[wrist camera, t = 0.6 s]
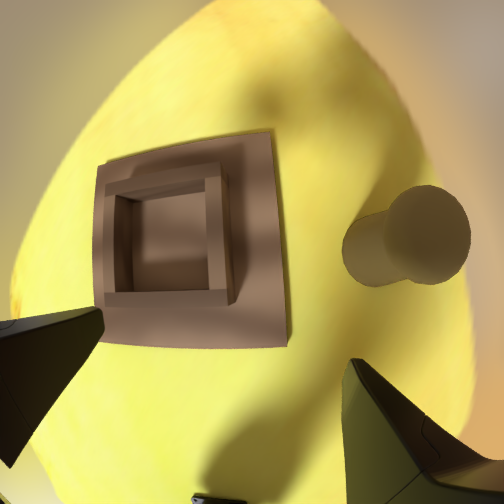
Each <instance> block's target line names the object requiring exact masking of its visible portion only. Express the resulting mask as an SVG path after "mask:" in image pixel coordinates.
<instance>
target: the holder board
mask: <svg viewBox="0 0 504 504" xmlns="http://www.w3.org/2000/svg"><path fill="white" fill-rule="evenodd" d="M92 266H93V290H94V305H95V307H97V308H100V309H101V310H102V312H103V317H104V324H105V332H104V334H103V336H102V337H101V339H100V340H99V342H105V343H114V344H124V345H135V346H148V347H164V348H189V349H248V348H273V347H287V330H286V312H285V296H284V281H283V267H282V253H281V241H280V229H279V217H278V206H277V195H276V185H275V174H274V165H273V155H272V146H271V137H270V132H264V133H254V134H246V135H238V136H231V137H224V138H217V139H211V140H205V141H199V142H194V143H188V144H183V145H178V146H174V147H169V148H164V149H160V150H155V151H151V152H147V153H143V154H139V155H135V156H131V157H128V158H124V159H120V160H117V161H113V162H110V163H107V164H103V165H100V166H98V169H97V178H96V187H95V198H94V212H93V237H92Z"/></svg>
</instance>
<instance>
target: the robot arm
mask: <svg viewBox="0 0 504 504" xmlns="http://www.w3.org/2000/svg"><path fill="white" fill-rule="evenodd" d="M104 332H105V324H104V317H103V312H102V310H101V309H100V308H97V307H94V306H91V307H85V308H80V309H74V310H68V311H63V312H57V313H51V314H45V315H39V316H33V317H27V318H20V319H18V320H17V319H14V320H7V321H0V459H1V460H2V461H3V462H4V463H5V465H6V466H8V468H9V469H10V468H11V467H12V466H13V465H14V463H15V461H16V460H17V458H18V456H19V455H20V453H21V452H22V450H23V448H24V447H25V445H26V444H27V442H28V441H29V439H30V438H31V436H32V435H33V432H34V431H35V430H36V428H37V427H38V426H39V424H40V423H41V421H42V420H43V418H44V417H45V415H46V414H47V413H48V411H49V410H50V408H51V407H52V406H53V404H54V403H55V401H56V400H57V399H58V397H59V396H60V395H61V393H62V392H63V391H64V389H65V388H66V387H67V385H68V384H69V383H70V381H71V380H72V379H73V377H74V376H75V375H76V373H77V372H78V371H79V369H80V368H81V367H82V366H83V364H84V363H85V362H86V360H87V359H88V357H89V356H90V354H91V353H92V351H93V349H94V348H95V346H96V345H97V343H98V342H99V340H100V339H101V337H102V336H103V334H104ZM341 421H342V433H343V444H344V457H345V472H346V493H347V504H504V460H492V459H488V458H485V457H483V456H481V455H480V454H478V453H477V452H475V451H474V450H472V449H471V448H469V447H468V446H466V445H465V444H463V443H462V442H460V441H459V440H458V439H456V438H455V437H453V436H452V435H451V434H449V433H448V432H447V431H445V430H444V429H443V428H441V427H440V426H439V425H438V424H437V423H435V422H434V421H433V420H432V419H431V418H430V417H428V416H427V415H426V416H425V413H424V412H423V411H421V410H420V409H419V408H418V407H417V406H416V405H415V404H413V403H412V402H411V401H410V400H409V399H408V398H406V397H405V396H404V395H403V394H402V393H401V392H400V391H398V390H397V389H396V388H395V387H394V386H393V385H392V384H390V383H389V382H388V381H387V380H386V379H385V378H384V377H383V376H381V375H380V374H379V373H378V372H377V371H376V370H375V369H373V368H372V367H371V366H370V365H369V364H368V363H367V362H365V361H364V360H363V359H359V358H351V359H350V360H349V362H348V365H347V368H346V370H345V373H344V376H343V379H342V420H341ZM191 500H192V503H193V504H247V502H244V501H232V500H222V499H213V498H206V497H199V496H193V497H192V498H191ZM0 504H11V503H10V502H9V501H8V500H7V499H6V498H5V497H4V496H3V495H2V494H1V493H0Z"/></svg>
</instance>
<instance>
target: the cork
mask: <svg viewBox="0 0 504 504" xmlns="http://www.w3.org/2000/svg"><path fill="white" fill-rule="evenodd" d="M470 244H471V230H470V226H469V221H468V218H467V215H466V213H465V211H464V209H463V207H462V206H461V204H460V203H459V202H458V201H457V199H456V198H455V197H454V196H452V195H451V194H450V193H448V192H447V191H445V190H444V189H442V188H439V187H435V186H432V185H424V186H416V187H412V188H410V189H408V190H407V191H405V192H403V193H402V194H400V195H399V196H398V197H397V198H396V200H395V201H394V202H393V203H392V205H391V206H390V208H389V210H387V211H383V212H380V213H376V214H373V215H370V216H366V217H363V218H361V219H359V220H358V221H356V222H354V223H353V225H352V226H351V227H350V228H349V229H348V230H347V233H346V235H345V237H344V239H343V246H342V255H343V261H344V264H345V266H346V268H347V270H348V272H349V274H350V275H351V276H352V277H353V278H354V279H355V280H356V281H358V282H360V283H362V284H363V285H365V286H371V287H380V286H384V285H388V284H391V283H395V282H398V281H401V280H404V279H409V280H411V281H413V282H415V283H419V284H427V285H434V284H438V283H442V282H445V281H447V280H449V279H450V278H451V277H453V276H454V275H455V274H456V273H458V272H459V270H460V269H461V267H462V265H463V264H464V262H465V261H466V259H467V256H468V253H469V249H470Z"/></svg>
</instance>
